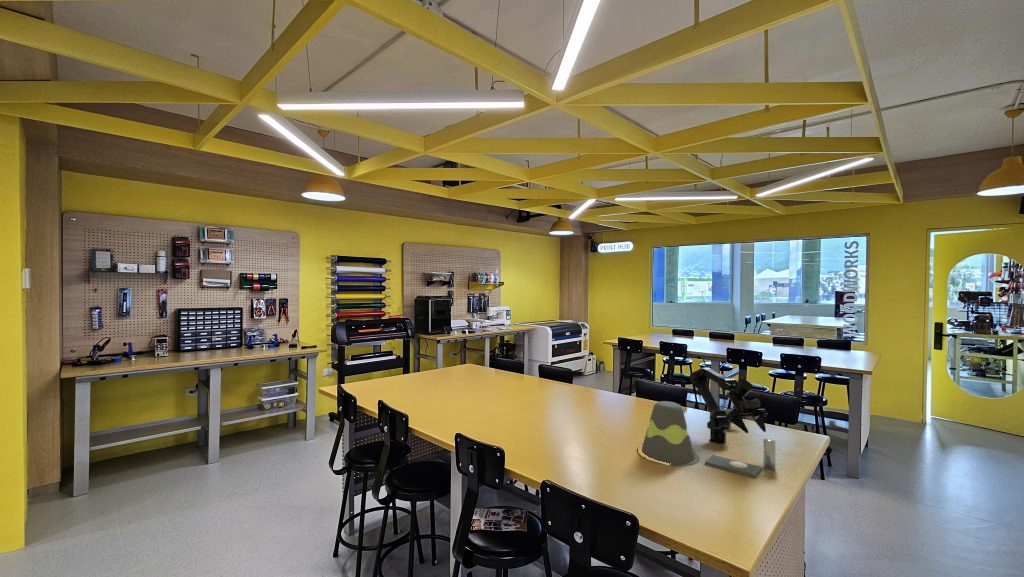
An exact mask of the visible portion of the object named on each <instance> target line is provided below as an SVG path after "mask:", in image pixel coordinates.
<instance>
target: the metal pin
mask: <svg viewBox="0 0 1024 577" xmlns="http://www.w3.org/2000/svg"><path fill="white" fill-rule="evenodd" d="M763 468H764V469H766V470H769V471H774V470H776V440H775V439H772V438H763Z"/></svg>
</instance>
